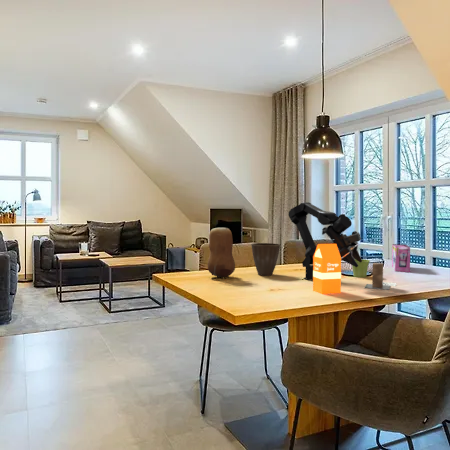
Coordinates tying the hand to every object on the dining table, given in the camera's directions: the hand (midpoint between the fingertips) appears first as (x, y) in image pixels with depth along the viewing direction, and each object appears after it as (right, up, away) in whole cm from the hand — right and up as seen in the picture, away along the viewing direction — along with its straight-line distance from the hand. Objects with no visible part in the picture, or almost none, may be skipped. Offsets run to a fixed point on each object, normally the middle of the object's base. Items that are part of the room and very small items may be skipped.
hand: (359, 264), depth 197 cm
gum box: (+41, -8, +57) cm, 71 cm away
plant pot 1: (-39, -9, +33) cm, 52 cm away
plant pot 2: (+8, -9, +25) cm, 28 cm away
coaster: (+7, -10, -4) cm, 13 cm away
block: (+7, -9, -4) cm, 12 cm away
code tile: (+13, -10, +4) cm, 17 cm away
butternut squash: (-62, -9, +23) cm, 67 cm away
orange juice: (-18, -10, -14) cm, 25 cm away
